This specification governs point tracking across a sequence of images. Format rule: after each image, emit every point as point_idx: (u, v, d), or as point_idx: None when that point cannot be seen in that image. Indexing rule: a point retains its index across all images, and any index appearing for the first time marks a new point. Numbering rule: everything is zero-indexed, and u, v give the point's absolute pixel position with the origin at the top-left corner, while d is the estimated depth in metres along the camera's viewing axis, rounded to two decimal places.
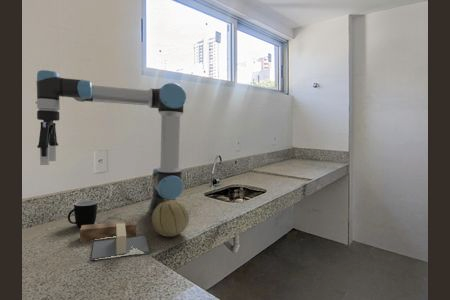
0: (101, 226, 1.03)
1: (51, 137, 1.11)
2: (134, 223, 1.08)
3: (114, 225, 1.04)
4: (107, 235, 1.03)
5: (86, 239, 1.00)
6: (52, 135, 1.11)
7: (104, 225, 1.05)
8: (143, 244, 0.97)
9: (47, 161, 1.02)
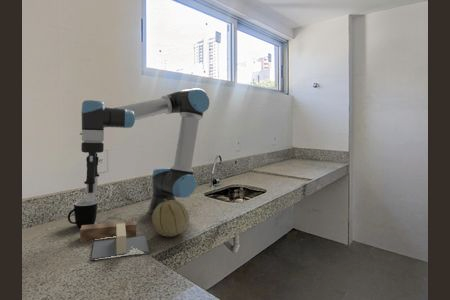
0: (101, 226, 1.03)
1: None
2: (134, 223, 1.08)
3: (114, 225, 1.04)
4: (107, 235, 1.03)
5: (86, 239, 1.00)
6: (95, 167, 1.05)
7: (104, 225, 1.05)
8: (143, 244, 0.97)
9: (93, 197, 0.96)
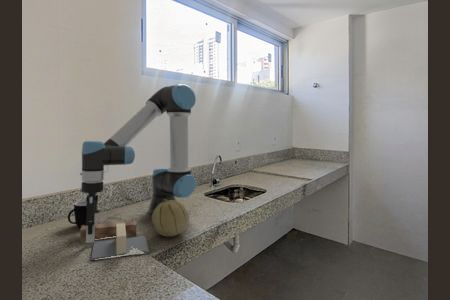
0: (101, 226, 1.03)
1: None
2: (134, 223, 1.08)
3: (114, 225, 1.05)
4: (107, 235, 1.03)
5: None
6: None
7: (104, 225, 1.05)
8: (143, 244, 0.97)
9: (93, 238, 0.96)
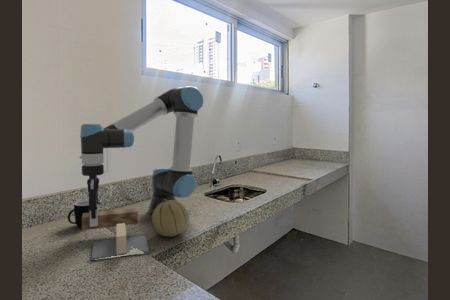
0: (103, 213, 1.03)
1: None
2: (135, 210, 1.08)
3: (116, 212, 1.05)
4: (109, 222, 1.03)
5: (88, 226, 1.00)
6: None
7: (106, 212, 1.05)
8: (143, 244, 0.97)
9: (96, 222, 1.00)
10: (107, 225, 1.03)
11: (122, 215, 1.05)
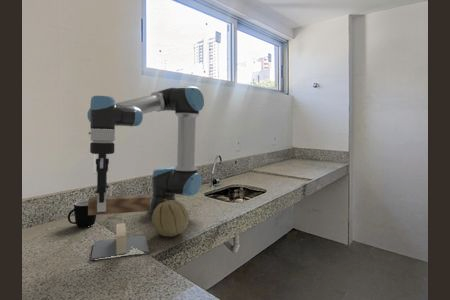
0: (111, 198, 0.92)
1: None
2: (147, 196, 0.97)
3: (126, 197, 0.93)
4: (118, 208, 0.91)
5: (95, 211, 0.89)
6: None
7: (115, 197, 0.93)
8: (143, 244, 0.97)
9: (104, 207, 0.89)
10: (116, 211, 0.91)
11: (133, 201, 0.93)
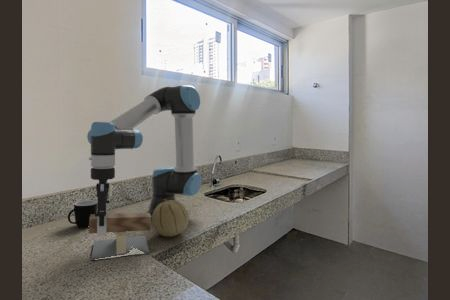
0: (112, 216, 0.92)
1: None
2: (148, 215, 0.97)
3: (127, 216, 0.94)
4: (119, 227, 0.92)
5: (95, 230, 0.89)
6: None
7: (116, 215, 0.94)
8: (143, 244, 0.97)
9: (105, 231, 0.86)
10: (116, 229, 0.91)
11: (134, 220, 0.93)
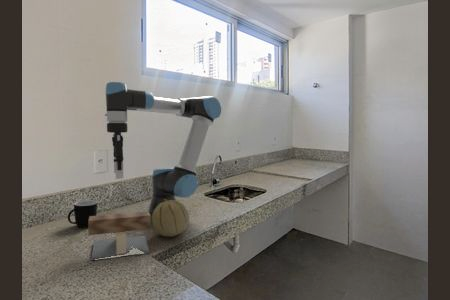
0: (111, 217, 0.92)
1: None
2: (147, 214, 0.97)
3: (126, 216, 0.94)
4: (118, 227, 0.92)
5: (95, 231, 0.89)
6: None
7: (115, 215, 0.94)
8: (143, 244, 0.97)
9: (122, 174, 1.00)
10: (116, 230, 0.91)
11: (133, 220, 0.93)
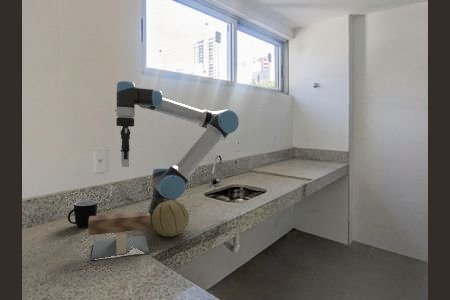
0: (111, 217, 0.92)
1: None
2: (147, 214, 0.97)
3: (126, 216, 0.94)
4: (118, 227, 0.92)
5: (95, 231, 0.89)
6: None
7: (115, 215, 0.94)
8: (143, 244, 0.97)
9: (128, 163, 1.12)
10: (116, 230, 0.91)
11: (133, 220, 0.93)
